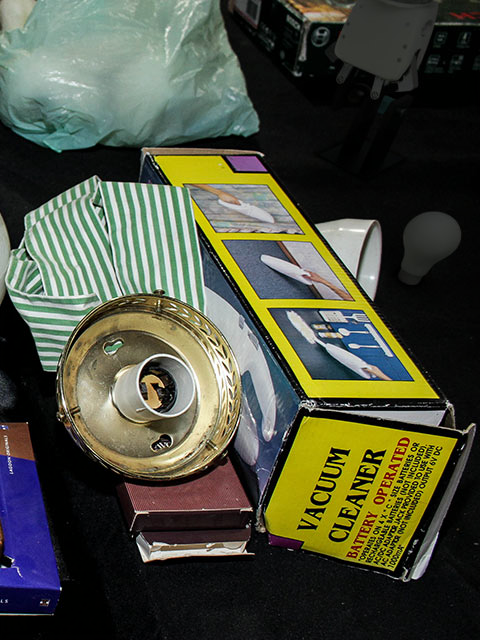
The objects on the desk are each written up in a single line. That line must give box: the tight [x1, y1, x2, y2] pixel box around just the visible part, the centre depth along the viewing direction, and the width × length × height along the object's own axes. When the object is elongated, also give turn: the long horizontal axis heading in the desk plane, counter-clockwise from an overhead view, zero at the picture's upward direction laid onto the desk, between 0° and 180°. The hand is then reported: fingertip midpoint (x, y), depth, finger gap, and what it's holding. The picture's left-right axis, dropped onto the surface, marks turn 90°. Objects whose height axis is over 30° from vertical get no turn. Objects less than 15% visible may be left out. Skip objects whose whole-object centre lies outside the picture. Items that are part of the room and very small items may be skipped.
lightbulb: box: [397, 211, 462, 286], centre depth 110 cm, size 6×6×11 cm
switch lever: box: [346, 82, 396, 116], centre depth 125 cm, size 13×3×3 cm, turn 125°
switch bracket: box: [318, 87, 415, 181], centre depth 131 cm, size 10×8×12 cm
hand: (351, 113), depth 124 cm, fingers closed on switch lever, 3 cm apart
